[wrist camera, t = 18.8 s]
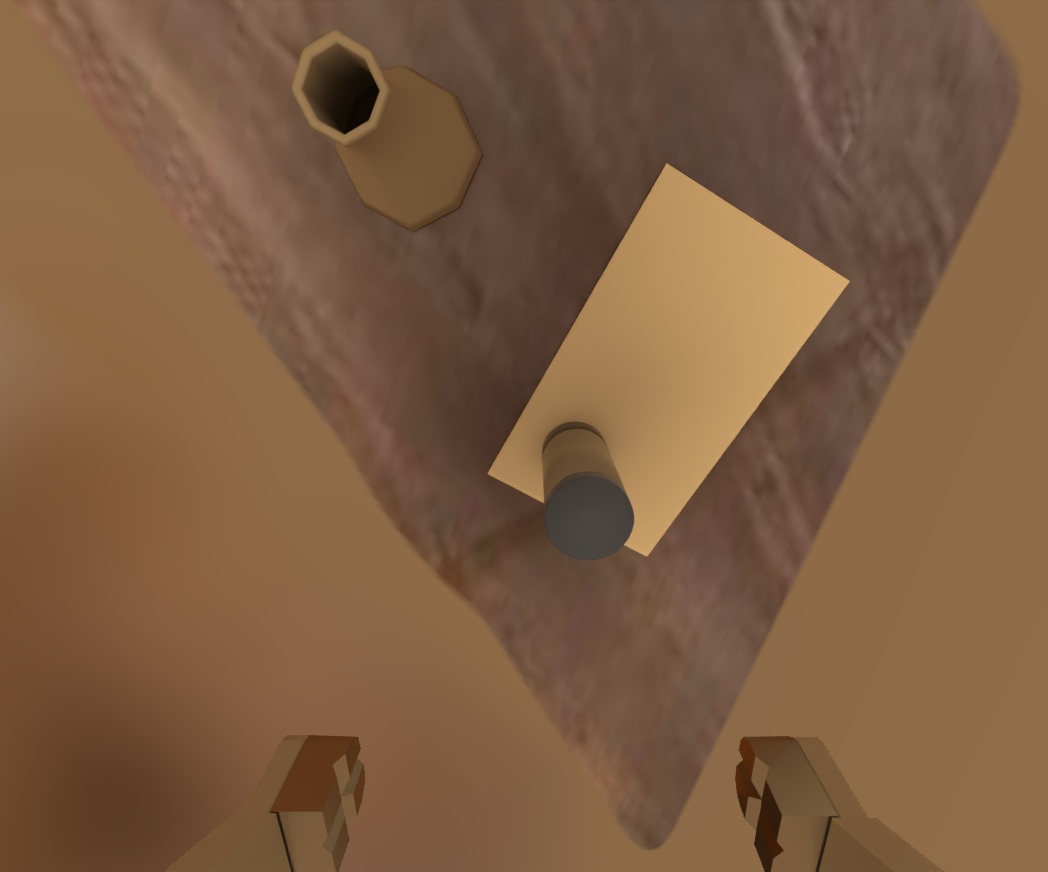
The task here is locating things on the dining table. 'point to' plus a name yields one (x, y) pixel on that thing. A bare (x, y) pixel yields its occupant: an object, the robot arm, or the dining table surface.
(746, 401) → the paper
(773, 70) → the dining table surface
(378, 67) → the flask
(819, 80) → the dining table surface
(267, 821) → the robot arm
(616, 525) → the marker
